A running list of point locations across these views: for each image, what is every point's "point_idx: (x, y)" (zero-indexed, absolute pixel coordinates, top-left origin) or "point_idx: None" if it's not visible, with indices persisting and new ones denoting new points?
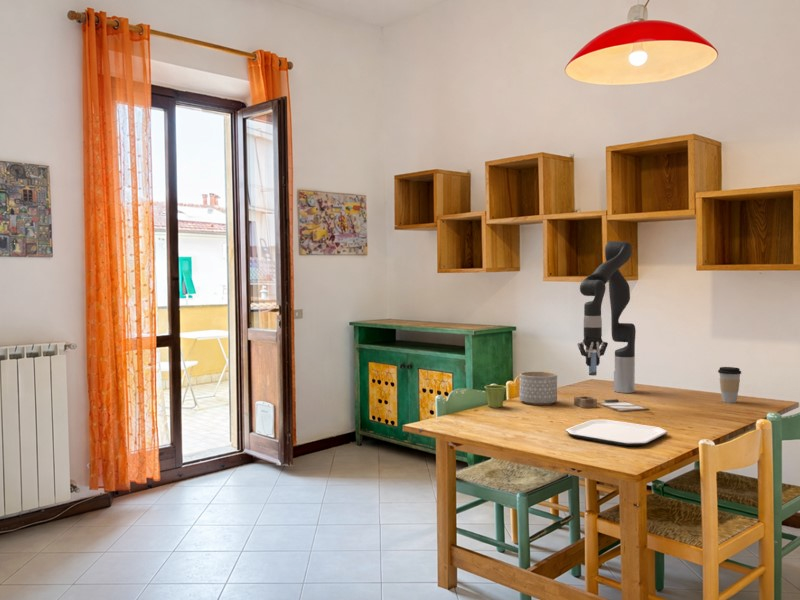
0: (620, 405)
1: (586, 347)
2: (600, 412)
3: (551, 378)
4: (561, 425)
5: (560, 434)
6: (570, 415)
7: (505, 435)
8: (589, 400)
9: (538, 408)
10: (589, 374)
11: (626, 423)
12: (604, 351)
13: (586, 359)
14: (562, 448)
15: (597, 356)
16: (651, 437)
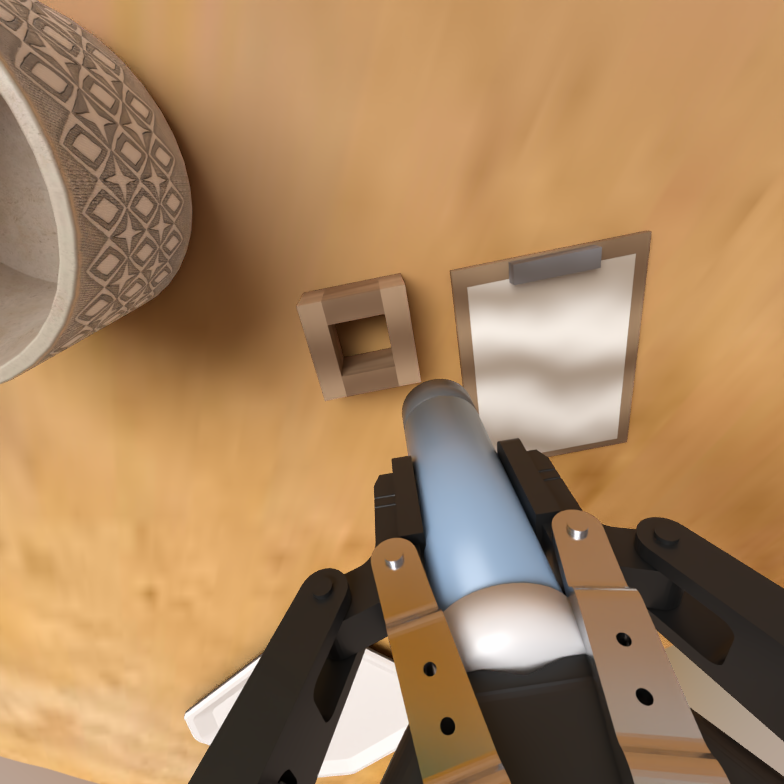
0: (542, 367)
1: (409, 719)
2: (385, 473)
3: (37, 363)
4: (184, 635)
5: (174, 702)
6: (237, 519)
7: (12, 714)
8: (372, 388)
9: (79, 379)
10: (403, 423)
11: (384, 667)
12: (713, 634)
13: (380, 535)
14: (172, 770)
15: (551, 566)
16: (383, 754)
